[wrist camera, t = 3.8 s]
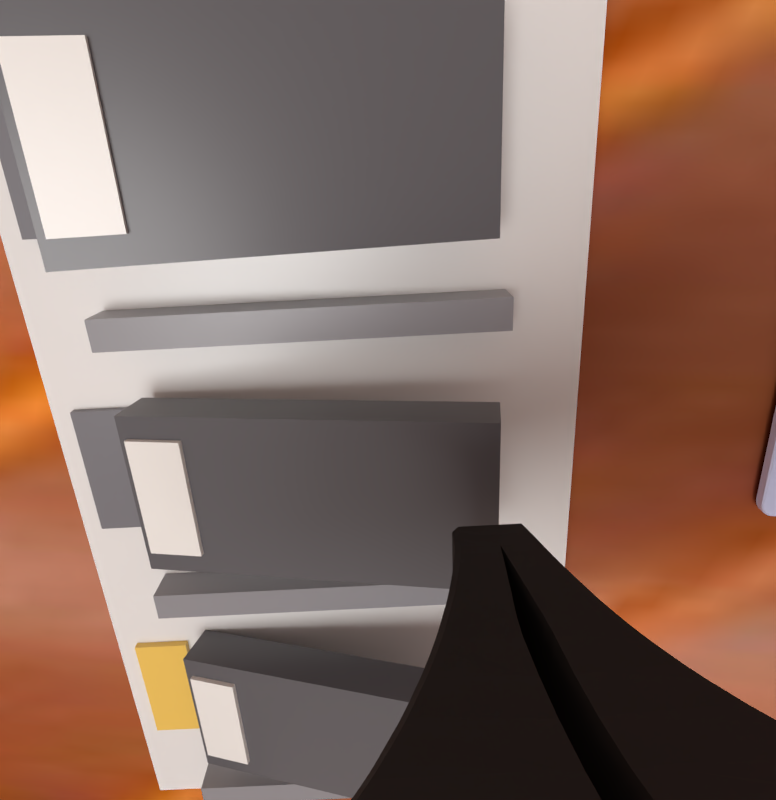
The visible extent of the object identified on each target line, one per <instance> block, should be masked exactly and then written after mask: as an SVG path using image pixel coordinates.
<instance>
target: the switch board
mask: <svg viewBox="0 0 776 800" xmlns="http://www.w3.org/2000/svg"><path fill="white" fill-rule="evenodd" d="M606 10H607V0H505V11H504V62H503V113H502V164H501V215H500V238H498V239H485V240H471V241H458V242H444V243H431V244H418V245H404V246H391V247H377V248H364V249H351V250H337V251H324V252H311V253H297V254H284V255H270V256H257V257H244V258H230V259H217V260H203V261H190V262H177V263H163V264H150V265H137V266H123V267H110V268H96V269H83V270H70V271H56V272H46V271H45V268H44V264H43V260H42V256H41V253H40V249H39V245H38V241H37V238H36V234H35V230H34V226H33V223H32V219H31V215H30V211H29V208H28V204H27V200H26V196H25V192H24V189H23V185H22V181H21V177H20V174H19V170H18V166H17V162H16V159H15V155H14V151H13V147H12V144H11V140H10V136H9V132H8V129H7V125H6V121H5V117H4V114H3V110H2V106H1V102H0V235H1V238H2V242H3V245H4V249H5V252H6V256H7V259H8V262H9V266H10V269H11V273H12V276H13V280H14V283H15V287H16V290H17V294H18V297H19V301H20V304H21V308H22V311H23V315H24V318H25V322H26V325H27V328H28V332H29V335H30V339H31V342H32V346H33V349H34V353H35V356H36V360H37V363H38V367H39V370H40V374H41V377H42V381H43V384H44V387H45V391H46V394H47V398H48V401H49V405H50V408H51V412H52V415H53V419H54V422H55V426H56V429H57V433H58V436H59V440H60V443H61V447H62V450H63V453H64V457H65V460H66V464H67V467H68V471H69V474H70V478H71V481H72V485H73V488H74V492H75V495H76V499H77V502H78V506H79V509H80V513H81V516H82V519H83V523H84V526H85V530H86V533H87V537H88V540H89V544H90V547H91V551H92V554H93V558H94V561H95V565H96V568H97V572H98V575H99V579H100V582H101V585H102V589H103V592H104V596H105V599H106V603H107V606H108V610H109V613H110V617H111V620H112V624H113V627H114V631H115V634H116V638H117V641H118V644H119V648H120V651H121V655H122V658H123V662H124V665H125V669H126V672H127V676H128V679H129V683H130V686H131V690H132V693H133V697H134V700H135V704H136V707H137V710H138V714H139V717H140V721H141V724H142V728H143V731H144V735H145V738H146V742H147V745H148V749H149V752H150V756H151V759H152V763H153V766H154V770H155V773H156V776H157V780H158V783H159V787H160V790H173V789H195V788H201V791H202V795H203V799H204V800H318V799H339V798H349V797H345V796H341V795H337V794H333V793H329V792H324V791H320V790H316V789H312V788H308V787H304V786H300V785H296V784H291V783H287V782H283V781H279V780H275V779H271V778H267V777H263V776H259V775H254V774H250V773H246V772H242V771H238V770H234V769H230V768H226V767H221V766H217V765H213V764H209V763H208V762H207V758H206V753H205V749H204V745H203V741H202V737H201V732H200V728H199V724H198V720H197V715H196V711H195V707H194V703H193V699H192V694H191V690H190V686H189V682H188V678H187V673H186V669H185V665H184V661H183V659H184V657H185V656H186V655H187V653H188V652H189V651H190V649H191V648H192V647H193V645H194V644H195V643H196V641H197V640H198V639H199V637H200V636H201V635H202V633H203V632H204V631H205V630H210V631H216V632H221V633H227V634H233V635H239V636H244V637H250V638H256V639H262V640H267V641H273V642H279V643H284V644H290V645H296V646H302V647H307V648H313V649H319V650H325V651H330V652H336V653H342V654H348V655H353V656H359V657H365V658H371V659H376V660H382V661H388V662H393V663H399V664H405V665H411V666H416V667H422V668H425V665H426V663H427V660H428V658H429V655H430V653H431V650H432V647H433V645H434V642H435V639H436V636H437V633H438V630H439V626H440V623H441V619H442V616H443V613H444V609H445V606H446V602H447V598H448V593H449V589H442V588H427V587H412V586H398V585H383V584H368V583H354V582H339V581H324V580H310V579H295V578H280V577H265V576H251V575H236V574H221V573H207V572H192V571H177V570H162V569H151V565H150V561H149V557H148V553H147V549H146V545H145V541H144V537H143V533H142V529H141V525H140V521H139V516H138V512H137V508H136V504H135V500H134V496H133V492H132V488H131V484H130V480H129V476H128V472H127V468H126V464H125V459H124V455H123V451H122V447H121V443H120V439H119V435H118V431H117V427H116V423H115V419H114V416H115V415H116V414H118V413H119V412H121V411H122V410H124V409H125V408H127V407H128V406H130V405H131V404H133V403H134V402H136V401H137V400H139V399H140V398H218V399H296V400H375V401H453V402H500V411H501V447H500V491H499V525H501V524H520V523H521V524H522V525H524V526H525V527H526V528H527V529H528V530H529V531H530V532H531V533H532V534H533V535H534V537H535V538H536V539H537V540H538V541H539V542H540V543H541V544H542V545H543V546H544V547H545V548H546V549H547V550H548V551H549V552H550V553H551V554H552V555H553V556H554V557H555V558H556V559H557V560H558V561H559V562H560V563H561V564H562V565H563V566H564V567H565V558H566V545H567V532H568V518H569V505H570V492H571V478H572V465H573V451H574V438H575V425H576V411H577V398H578V385H579V371H580V358H581V344H582V331H583V318H584V304H585V291H586V277H587V264H588V251H589V237H590V224H591V211H592V197H593V184H594V170H595V157H596V144H597V130H598V117H599V104H600V90H601V77H602V63H603V50H604V37H605V23H606Z"/></svg>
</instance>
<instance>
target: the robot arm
mask: <svg viewBox="0 0 776 800" xmlns="http://www.w3.org/2000/svg"><path fill="white" fill-rule="evenodd" d="M756 505H757V506H758V508H759V509H760V510H761V511H762V512H763V513H765V514H766V515H768V516H776V407H775V412H774V417H773V422H772V426H771V431H770V436H769V441H768V445H767V450H766V455H765V459H764V464H763V469H762V474H761V478H760V483H759V488H758V493H757V497H756ZM452 564H453V573H452V578H451V583H450V588H449V593H448V598H447V602H446V606H445V609H444V613H443V616H442V619H441V623H440V626H439V630H438V633H437V636H436V639H435V642H434V645H433V647H432V650H431V653H430V655H429V658H428V660H427V663H426V665H425V668H424V670H423V673H422V675H421V677H420V680H419V682H418V684H417V686H416V688H415V690H414V693H413V695H412V697H411V699H410V701H409V703H408V705H407V707H406V709H405V711H404V713H403V715H402V717H401V719H400V721H399V723H398V725H397V727H396V728H395V730H394V732H393V733H392V735H391V737H390V739H389V740H388V742H387V744H386V746H385V747H384V749H383V751H382V752H381V754H380V756H379V758H378V759H377V761H376V763H375V765H374V766H373V768H372V769H371V771H370V773H369V774H368V776H367V777H366V779H365V780H364V782H363V783H362V785H361V786H360V788H359V789H358V791H357V792H356V793H355V795H354V796H353V798H352V799H351V800H776V720H775V719H773V718H771V717H769V716H768V715H766V714H764V713H762V712H760V711H759V710H757V709H755V708H753V707H751V706H750V705H748V704H746V703H745V702H743V701H741V700H740V699H738V698H736V697H735V696H733V695H732V694H730V693H728V692H727V691H725V690H723V689H722V688H720V687H718V686H717V685H715V684H713V683H712V682H710V681H709V680H707V679H705V678H704V677H702V676H701V675H699V674H698V673H696V672H695V671H693V670H692V669H690V668H688V667H687V666H685V665H684V664H682V663H681V662H680V661H678V660H677V659H675V658H674V657H673V656H671V655H670V654H668V653H667V652H666V651H664V650H663V649H661V648H660V647H658V646H657V645H656V644H654V643H653V642H651V641H650V640H649V639H647V638H646V637H645V636H643V635H642V634H641V633H639V632H638V631H637V630H635V629H634V628H633V627H632V626H630V625H629V624H628V623H627V622H625V621H624V620H623V619H622V618H621V617H619V616H618V615H617V614H616V613H615V612H613V611H612V610H611V609H610V608H608V607H607V606H606V605H605V604H604V603H603V602H602V601H600V600H599V599H598V598H597V597H596V596H595V595H594V594H593V593H592V592H590V591H589V590H588V589H587V588H586V587H585V586H584V585H583V584H582V583H581V582H580V581H579V580H578V579H576V578H575V577H574V576H573V575H572V574H571V573H570V572H569V571H568V570H567V569H566V568H565V567H564V566H563V565H562V564H561V563H560V562H559V561H558V560H557V559H556V558H555V557H554V556H553V555H552V554H551V553H550V552H549V551H548V550H547V549H546V548H545V547H544V546H543V545H542V544H541V543H540V542H539V541H538V540H537V539H536V538H535V537H534V535H533V534H532V533H531V532H530V531H529V530H528V529H527V528H526V527H525V526H524V525H522V524H521V523H520V524H501V525H481V526H462V527H457V528H456V529H455V530H454V531H453V532H452Z"/></svg>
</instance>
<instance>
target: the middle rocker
mask: <svg viewBox="0 0 776 800" xmlns="http://www.w3.org/2000/svg"><path fill="white" fill-rule="evenodd" d="M114 419H115V423H116V427H117V431H118V435H119V439H120V443H121V447H122V451H123V455H124V459H125V464H126V468H127V472H128V476H129V480H130V484H131V488H132V492H133V496H134V500H135V504H136V508H137V512H138V516H139V521H140V525H141V529H142V533H143V537H144V541H145V545H146V549H147V553H148V557H149V561H150V565H151V569H162V570H177V571H192V572H207V573H221V574H236V575H251V576H265V577H280V578H295V579H310V580H324V581H339V582H354V583H368V584H383V585H398V586H412V587H427V588H442V589H449V588H450V583H451V578H452V573H453V564H452V532H453V531H454V530H455V529H456V528H457V527H462V526H481V525H499V491H500V447H501V411H500V402H453V401H375V400H296V399H218V398H140V399H139V400H137V401H136V402H134V403H133V404H131V405H130V406H128V407H127V408H125V409H124V410H122V411H121V412H119V413H118V414H116V415H115V416H114Z"/></svg>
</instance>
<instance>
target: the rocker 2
mask: <svg viewBox="0 0 776 800" xmlns="http://www.w3.org/2000/svg"><path fill="white" fill-rule="evenodd" d="M183 661H184V665H185V669H186V673H187V678H188V682H189V686H190V690H191V694H192V699H193V703H194V707H195V711H196V715H197V720H198V724H199V728H200V732H201V737H202V741H203V745H204V749H205V753H206V758H207V762H208V763H209V764H213V765H217V766H221V767H226V768H230V769H234V770H238V771H242V772H246V773H250V774H254V775H259V776H263V777H267V778H271V779H275V780H279V781H283V782H287V783H291V784H296V785H300V786H304V787H308V788H312V789H316V790H320V791H324V792H329V793H333V794H337V795H341V796H345V797H349V798H353V796H354V795H355V793H356V792H357V791H358V789H359V788H360V786H361V785H362V783H363V782H364V780H365V779H366V777H367V776H368V774H369V773H370V771H371V769H372V768H373V766H374V765H375V763H376V761H377V759H378V758H379V756H380V754H381V752H382V751H383V749H384V747H385V746H386V744H387V742H388V740H389V739H390V737H391V735H392V733H393V732H394V730H395V728H396V727H397V725H398V723H399V721H400V719H401V717H402V715H403V713H404V711H405V709H406V707H407V705H408V703H409V701H410V699H411V697H412V695H413V693H414V690H415V688H416V686H417V684H418V682H419V680H420V677H421V675H422V673H423V670H424V668H422V667H416V666H411V665H405V664H399V663H393V662H388V661H382V660H376V659H371V658H365V657H359V656H353V655H348V654H342V653H336V652H330V651H325V650H319V649H313V648H307V647H302V646H296V645H290V644H284V643H279V642H273V641H267V640H262V639H256V638H250V637H244V636H239V635H233V634H227V633H221V632H216V631H210V630H205V631H204V632H203V633H202V635H201V636H200V637H199V639H198V640H197V641H196V643H195V644H194V645H193V647H192V648H191V649H190V651H189V652H188V653H187V655H186V656H185V657H184V659H183Z"/></svg>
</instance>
